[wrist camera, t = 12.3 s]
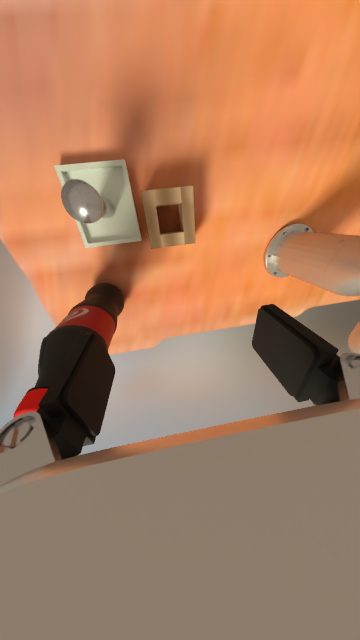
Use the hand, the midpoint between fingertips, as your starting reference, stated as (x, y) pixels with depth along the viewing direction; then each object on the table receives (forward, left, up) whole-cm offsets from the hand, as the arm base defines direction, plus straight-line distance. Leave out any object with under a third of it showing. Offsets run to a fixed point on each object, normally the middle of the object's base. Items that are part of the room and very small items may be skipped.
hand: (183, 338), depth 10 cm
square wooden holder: (-2, -6, -32) cm, 33 cm away
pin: (+9, -9, -32) cm, 34 cm away
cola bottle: (+15, +9, -32) cm, 37 cm away
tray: (+10, -9, -32) cm, 35 cm away
